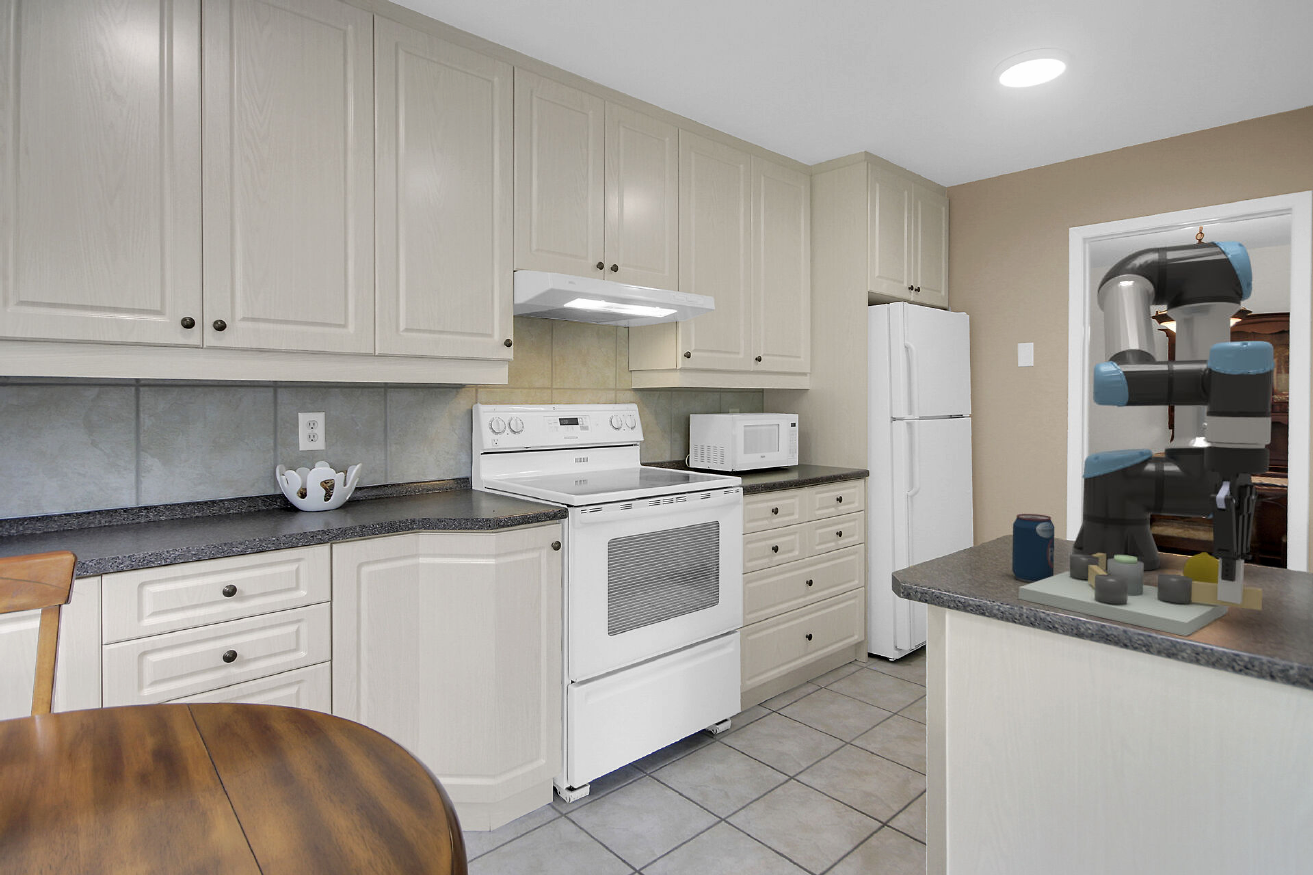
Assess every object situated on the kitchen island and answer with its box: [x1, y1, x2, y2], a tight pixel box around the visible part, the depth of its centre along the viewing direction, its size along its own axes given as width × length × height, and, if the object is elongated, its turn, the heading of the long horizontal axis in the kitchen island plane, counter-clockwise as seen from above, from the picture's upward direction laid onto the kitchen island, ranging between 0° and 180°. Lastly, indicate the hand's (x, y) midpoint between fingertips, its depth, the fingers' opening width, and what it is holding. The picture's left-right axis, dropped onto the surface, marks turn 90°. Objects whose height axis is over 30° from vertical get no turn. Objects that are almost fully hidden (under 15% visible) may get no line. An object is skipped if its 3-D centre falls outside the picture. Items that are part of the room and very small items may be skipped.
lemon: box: [1182, 551, 1219, 584], centre depth 119 cm, size 6×6×8 cm
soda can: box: [1011, 513, 1055, 583], centre depth 133 cm, size 7×7×12 cm
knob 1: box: [1069, 553, 1107, 579], centre depth 128 cm, size 10×4×4 cm, turn 126°
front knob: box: [1088, 565, 1128, 604], centre depth 116 cm, size 13×4×4 cm, turn 162°
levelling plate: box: [1018, 555, 1229, 637], centre depth 116 cm, size 18×24×8 cm
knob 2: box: [1157, 573, 1263, 611], centre depth 109 cm, size 13×4×4 cm, turn 56°
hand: (1229, 600), depth 107 cm, fingers closed
